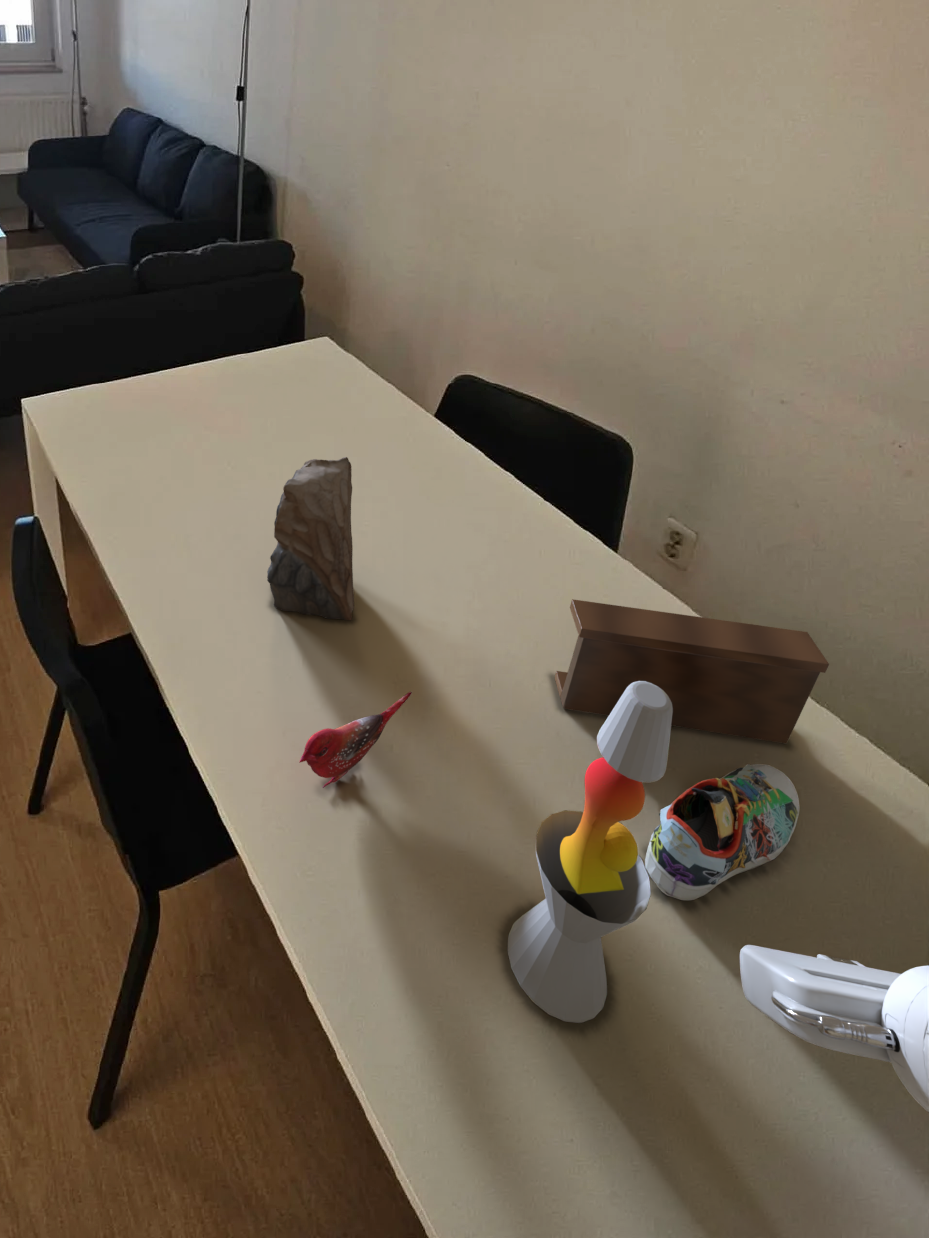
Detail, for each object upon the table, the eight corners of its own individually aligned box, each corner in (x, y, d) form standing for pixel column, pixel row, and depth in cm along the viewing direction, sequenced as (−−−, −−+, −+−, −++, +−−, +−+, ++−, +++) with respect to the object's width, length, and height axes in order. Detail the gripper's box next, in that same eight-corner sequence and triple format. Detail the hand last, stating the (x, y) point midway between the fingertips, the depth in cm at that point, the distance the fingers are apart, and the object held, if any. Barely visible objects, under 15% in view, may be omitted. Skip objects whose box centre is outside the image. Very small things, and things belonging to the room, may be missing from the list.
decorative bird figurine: (286, 799, 84) (291, 737, 80) (397, 718, 93) (406, 659, 89) (303, 821, 82) (309, 758, 78) (414, 736, 91) (425, 676, 87)
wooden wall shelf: (772, 710, 96) (807, 631, 91) (791, 744, 92) (829, 664, 87) (550, 676, 100) (571, 598, 95) (558, 708, 96) (581, 628, 90)
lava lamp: (532, 1030, 66) (628, 756, 52) (489, 913, 74) (563, 649, 60) (630, 1019, 67) (750, 747, 53) (577, 905, 75) (669, 643, 61)
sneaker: (814, 826, 83) (846, 766, 79) (695, 931, 73) (723, 869, 69) (744, 767, 89) (770, 709, 85) (625, 857, 79) (648, 796, 75)
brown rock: (264, 610, 109) (271, 496, 101) (273, 550, 120) (281, 444, 112) (352, 623, 107) (367, 508, 99) (354, 561, 119) (367, 454, 111)
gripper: (806, 1084, 50) (705, 989, 63) (1162, 1160, 47) (981, 1044, 60) (794, 966, 52) (698, 897, 65) (1133, 1032, 50) (964, 947, 62)
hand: (836, 968), depth 63 cm, fingers closed
